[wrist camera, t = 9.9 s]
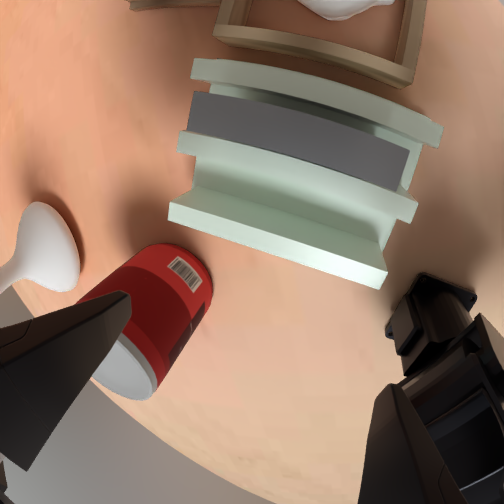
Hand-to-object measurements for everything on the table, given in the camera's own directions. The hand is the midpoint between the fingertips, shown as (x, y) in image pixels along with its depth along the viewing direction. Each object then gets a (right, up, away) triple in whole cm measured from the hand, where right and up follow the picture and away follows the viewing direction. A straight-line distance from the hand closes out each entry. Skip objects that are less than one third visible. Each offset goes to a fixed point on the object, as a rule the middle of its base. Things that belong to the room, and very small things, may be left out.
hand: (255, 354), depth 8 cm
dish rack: (+3, +9, +9) cm, 14 cm away
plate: (+3, +11, +8) cm, 13 cm away
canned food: (-7, +1, +17) cm, 18 cm away
